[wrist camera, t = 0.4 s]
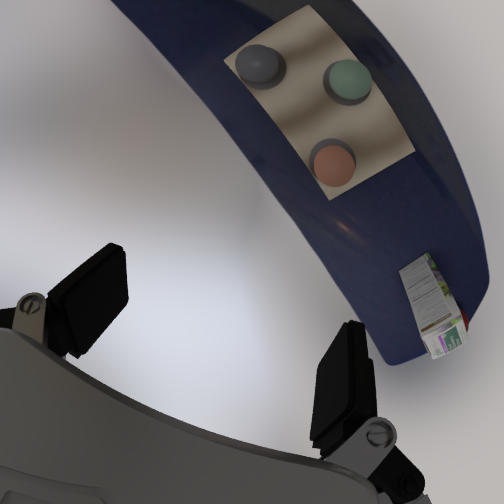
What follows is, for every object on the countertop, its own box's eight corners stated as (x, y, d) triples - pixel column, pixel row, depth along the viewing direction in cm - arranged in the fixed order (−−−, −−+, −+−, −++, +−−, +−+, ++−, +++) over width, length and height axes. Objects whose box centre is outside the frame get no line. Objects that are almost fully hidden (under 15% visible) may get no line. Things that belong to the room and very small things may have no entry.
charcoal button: (232, 63, 26) (226, 60, 24) (263, 42, 24) (259, 37, 22) (255, 90, 27) (251, 89, 25) (287, 69, 25) (285, 65, 23)
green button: (320, 74, 24) (321, 71, 23) (352, 56, 22) (354, 52, 21) (344, 106, 26) (346, 105, 24) (375, 88, 24) (380, 86, 22)
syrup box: (439, 276, 36) (472, 339, 24) (410, 295, 39) (432, 362, 27) (427, 250, 35) (463, 312, 23) (396, 271, 38) (420, 338, 25)
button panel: (229, 63, 29) (221, 59, 27) (309, 11, 24) (308, 2, 21) (328, 195, 35) (329, 202, 32) (409, 148, 29) (417, 151, 27)
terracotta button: (306, 157, 29) (305, 160, 28) (338, 137, 27) (340, 139, 26) (327, 189, 31) (328, 194, 29) (359, 170, 29) (362, 174, 27)
